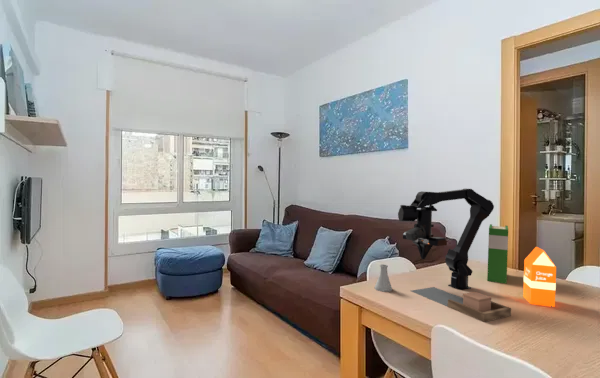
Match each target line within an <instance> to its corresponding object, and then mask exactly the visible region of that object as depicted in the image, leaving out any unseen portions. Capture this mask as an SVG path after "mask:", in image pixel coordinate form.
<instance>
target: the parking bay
mask: <svg viewBox="0 0 600 378" xmlns="http://www.w3.org/2000/svg"><path fill="white" fill-rule="evenodd" d="M447 308H449V309H451V310H454V311H457V312H460V313H461V314H464V315H466V316H469V317H471V318H474V319H476V320H479V322H482V321H483V323H487V322H490V321H495V320H498V319H499V320H500V319H503V318H507V317H511V316H512V308H511V307H509V306H505V305H503V304H500V303H497V302H495V301H492V300H491V311H487V312H481V311H479V310H476V309H474V308H471V307H469V306H466V305H464V304H461V303H459V302H456V301H453V300H451V299H449V300H448V307H447Z"/></svg>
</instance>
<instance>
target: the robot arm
mask: <svg viewBox="0 0 600 378" xmlns="http://www.w3.org/2000/svg"><path fill="white" fill-rule="evenodd" d="M462 199H464V200H465V202H466V203H467V204H468V205H469V206H470V207H469V216H470V217H469V219H468V220H467V223H466V225H465V227H464V229H463V231H462V233H461V235H460V237H459V240H458V241H457V245H455V247H454V248H453V249H452V248H449V249H447V253H446V255H445V256H444V258H445V260H444V261H445V265H446V266H447V267H448V269H449V271H450V272H451V276H450V284H447V286H448V287H450V288H453V289H456V290H459V291H464V290H470V289H472V287H471V286H469V276H472V274H473V270H472V268H471V267H470V266H469V265H468V261H469V251H470V248H471V247H472V244H473V242H474V240H475V238H476V235H478V234H477V233H478V231H479V229H480V227H481V225H482V223H483V221H485V220H486V219H487V218H489V217H490V215H491V213H492V212H493V211H494V208H495V205H494V204H493V201H491V200H490V199H487V198H485V196H483V195H480V194H479V193H478V192H476V191H475V190H474V189H472V188H463V189H462V188H461V189H455V190H445V191H439V192H436V191H435V192H434V191H419V192H417V194H416V195H415V198H414V200H413V201H412V202H411V203H410V204H409V205H405V204H401V205H400V207H399V209H398V212H397V216H398V218H397V219H398V221H399V222H411V223H412V222H413V223H414V225H413V227H412V228H410V229H408V230H406V231H404V233H403V234H402V239H403V240H407V241H411V242H412V244H414V245H415V246H416V247H417V250H418V252H419V254H420V255H419V256H420V258H421V260H425V259H426V258H427V256H428V255H429V254H428V253H429V252H430V250H432V247H433V246H434V247H441V246H443V247H444V246H447V244H448V242H447V241H448V240H447V239H446V238H445V237H442V236H434V234H433V233H432V228H434V224H433V222H432V221H433V220H432V219H433V217H432V214H433V212H437V211H438V209H437V208H436V207H435V205H436V204H438V203H440V202H441V203H442V202H448V201H453V200H454V201H455V200H462ZM415 221H416V223H415Z"/></svg>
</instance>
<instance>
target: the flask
mask: <svg viewBox="0 0 600 378" xmlns="http://www.w3.org/2000/svg"><path fill="white" fill-rule="evenodd" d="M379 267H380V268H379V269H380V270H379V275H378V277H377V280H376V283H375V285H374V289H375V290H376V291H377V292H378V291H379V292H384V293H385V292H392V290H393V287H392V284H391V281H390V279H389V275H388V264H384V263H383V264H382V263H381V264H379Z"/></svg>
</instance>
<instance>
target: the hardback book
mask: <svg viewBox="0 0 600 378" xmlns="http://www.w3.org/2000/svg"><path fill="white" fill-rule="evenodd" d="M487 247H488V251H487V276H486V277H487V278H486V280H487V282H493V283H498V284H499V283H500V284H505V285H506V284H507V282H508V281H507V280H508V279H507V276H508V252H509V250H508V249H509V226H508V225H505V226H498V225H493V224H492V223H491V224H489V227H488V246H487Z"/></svg>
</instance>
